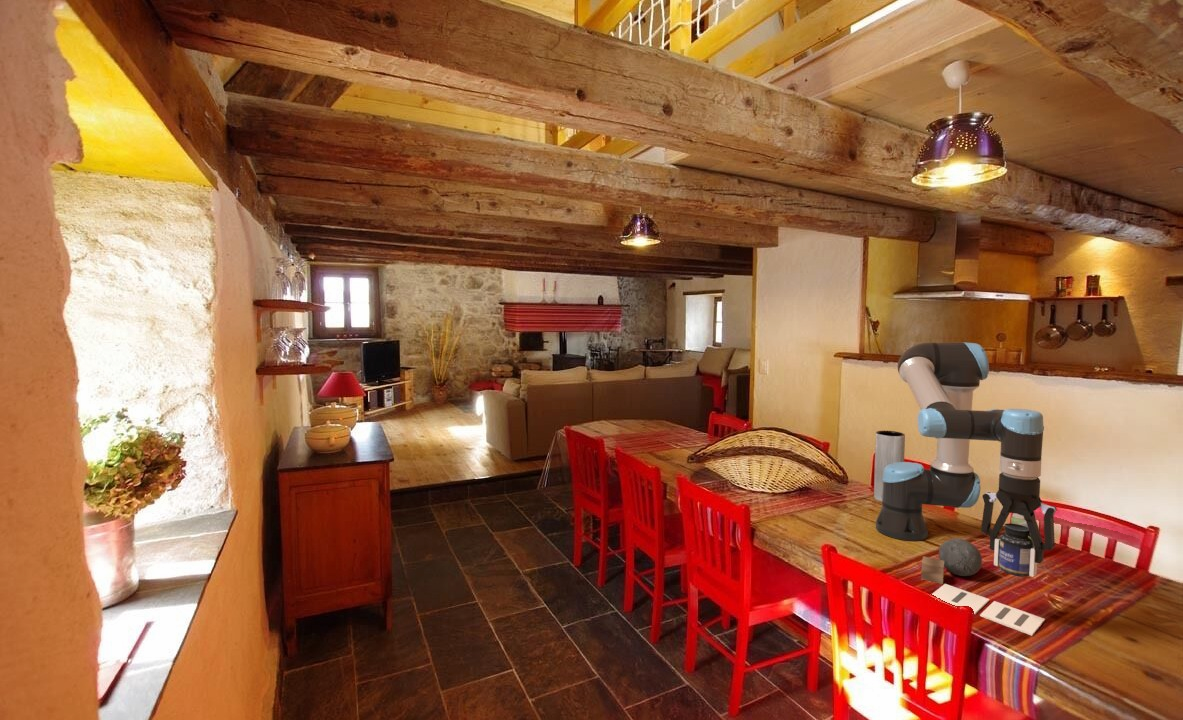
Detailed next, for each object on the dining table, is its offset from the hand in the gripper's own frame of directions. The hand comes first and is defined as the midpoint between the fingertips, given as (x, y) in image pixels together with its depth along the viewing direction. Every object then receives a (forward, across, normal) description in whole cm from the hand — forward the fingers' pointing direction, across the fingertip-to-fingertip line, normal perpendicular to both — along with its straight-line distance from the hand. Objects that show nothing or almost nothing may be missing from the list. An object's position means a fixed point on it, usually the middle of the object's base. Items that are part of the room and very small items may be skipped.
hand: (1014, 569), depth 124 cm
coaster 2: (+12, 0, 0) cm, 12 cm away
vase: (+12, -56, +62) cm, 85 cm away
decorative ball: (+13, -16, +15) cm, 25 cm away
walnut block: (+13, -20, +6) cm, 24 cm away
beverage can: (+13, -9, +46) cm, 49 cm away
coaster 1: (+12, -11, 0) cm, 17 cm away
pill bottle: (+1, 0, 0) cm, 1 cm away
